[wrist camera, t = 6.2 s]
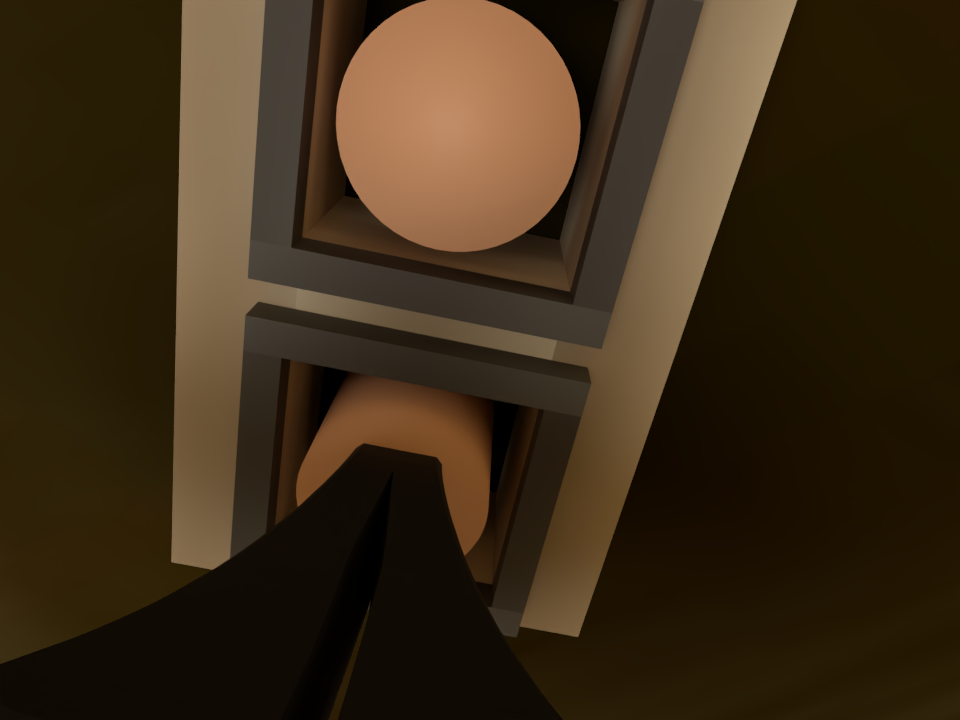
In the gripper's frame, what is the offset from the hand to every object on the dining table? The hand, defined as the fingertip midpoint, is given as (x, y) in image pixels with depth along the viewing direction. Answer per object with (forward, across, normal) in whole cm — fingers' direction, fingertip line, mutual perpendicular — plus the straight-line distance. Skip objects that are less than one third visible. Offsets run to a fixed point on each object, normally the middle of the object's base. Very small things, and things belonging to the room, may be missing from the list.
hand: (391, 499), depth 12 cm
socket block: (+4, 0, -3) cm, 5 cm away
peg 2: (+3, 0, 0) cm, 3 cm away
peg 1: (+3, 0, -6) cm, 7 cm away
